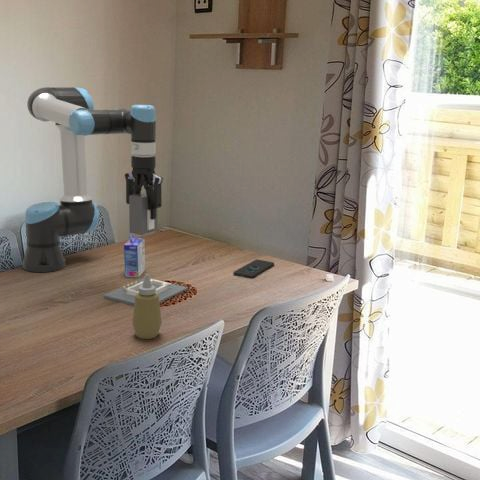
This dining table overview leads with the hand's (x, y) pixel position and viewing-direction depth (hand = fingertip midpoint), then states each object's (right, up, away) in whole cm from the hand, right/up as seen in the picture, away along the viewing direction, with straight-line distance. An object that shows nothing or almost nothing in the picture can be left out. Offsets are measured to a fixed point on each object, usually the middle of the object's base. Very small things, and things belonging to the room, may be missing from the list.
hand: (143, 227), depth 205 cm
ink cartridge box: (-7, -16, +27) cm, 33 cm away
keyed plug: (0, -1, 0) cm, 1 cm away
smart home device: (+36, -16, +36) cm, 54 cm away
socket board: (0, -22, +7) cm, 23 cm away
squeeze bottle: (+5, -31, -26) cm, 41 cm away
